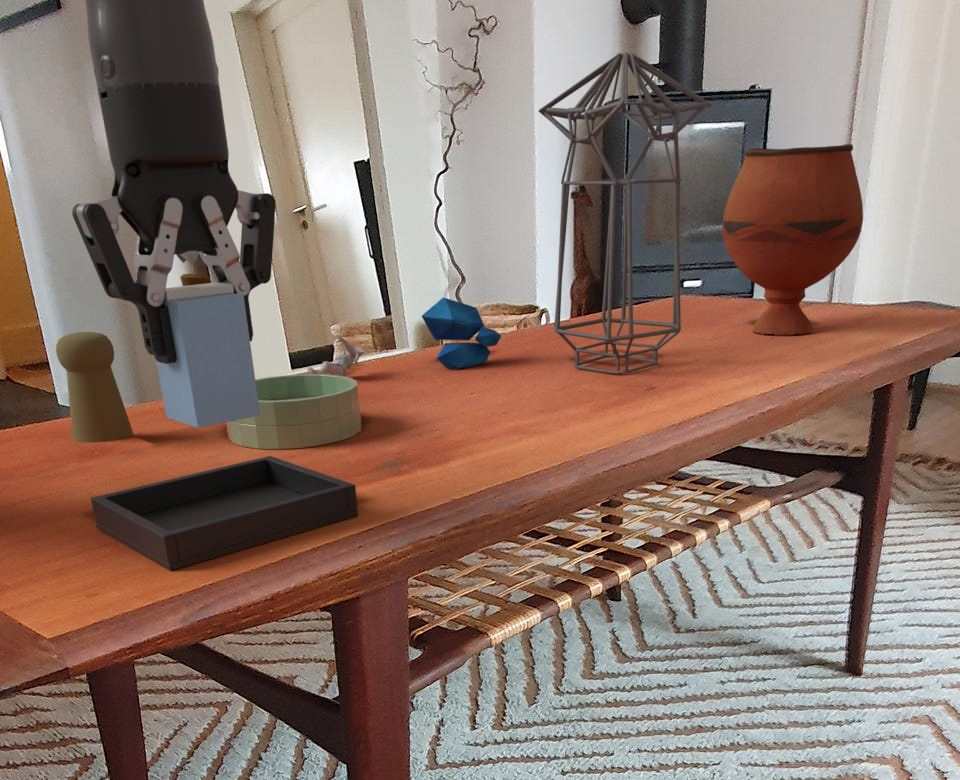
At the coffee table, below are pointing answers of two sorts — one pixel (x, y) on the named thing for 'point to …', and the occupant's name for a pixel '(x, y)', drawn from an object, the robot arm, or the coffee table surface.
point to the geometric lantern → (573, 114)
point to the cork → (92, 388)
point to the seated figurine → (340, 360)
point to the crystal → (459, 333)
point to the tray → (223, 510)
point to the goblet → (792, 225)
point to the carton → (208, 357)
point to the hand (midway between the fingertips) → (202, 354)
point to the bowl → (300, 412)
